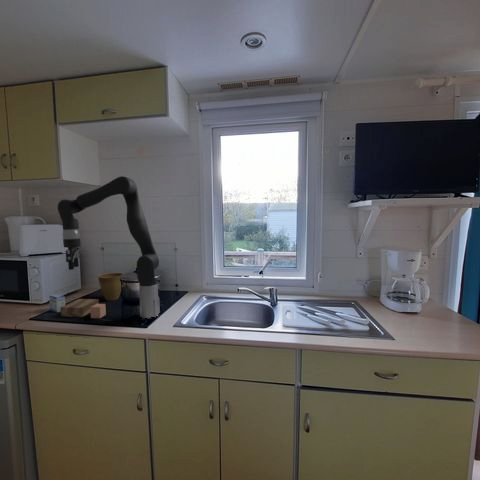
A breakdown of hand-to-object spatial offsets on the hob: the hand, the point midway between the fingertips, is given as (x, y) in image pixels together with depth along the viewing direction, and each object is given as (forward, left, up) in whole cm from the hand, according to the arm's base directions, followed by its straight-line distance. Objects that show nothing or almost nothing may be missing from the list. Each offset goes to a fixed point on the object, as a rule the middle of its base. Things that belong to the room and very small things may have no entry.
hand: (74, 268), depth 131 cm
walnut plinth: (+1, -5, -26) cm, 26 cm away
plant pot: (-4, -28, -26) cm, 39 cm away
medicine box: (+16, -7, -26) cm, 32 cm away
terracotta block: (-13, +1, -26) cm, 29 cm away
